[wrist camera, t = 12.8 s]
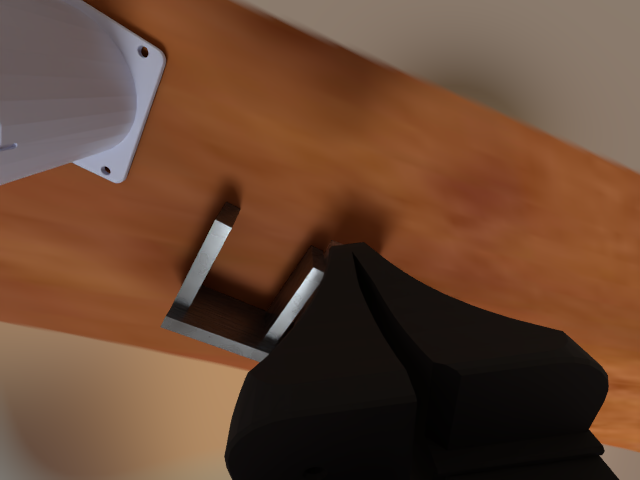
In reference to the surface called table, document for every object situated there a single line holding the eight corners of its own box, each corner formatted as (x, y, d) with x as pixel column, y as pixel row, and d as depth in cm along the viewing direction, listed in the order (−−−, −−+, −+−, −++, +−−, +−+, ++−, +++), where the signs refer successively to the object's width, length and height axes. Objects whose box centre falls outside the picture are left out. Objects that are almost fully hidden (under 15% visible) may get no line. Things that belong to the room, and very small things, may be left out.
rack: (182, 289, 22) (154, 337, 18) (226, 201, 19) (206, 233, 15) (392, 373, 28) (409, 424, 24) (450, 316, 25) (481, 362, 21)
